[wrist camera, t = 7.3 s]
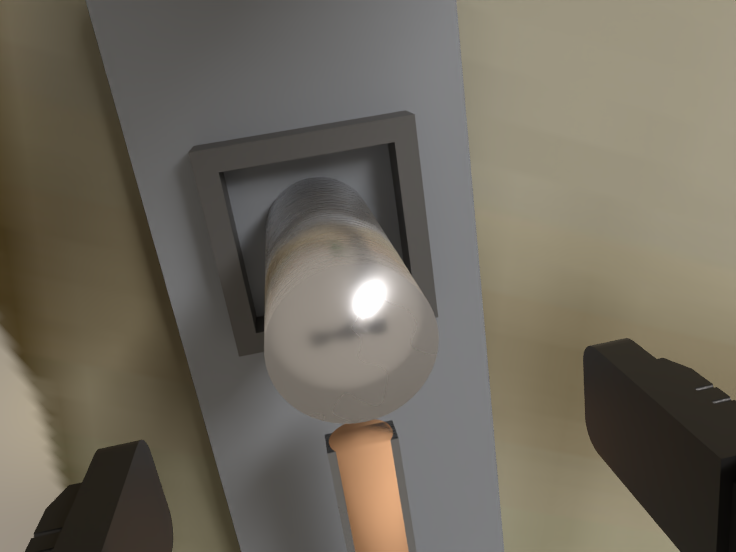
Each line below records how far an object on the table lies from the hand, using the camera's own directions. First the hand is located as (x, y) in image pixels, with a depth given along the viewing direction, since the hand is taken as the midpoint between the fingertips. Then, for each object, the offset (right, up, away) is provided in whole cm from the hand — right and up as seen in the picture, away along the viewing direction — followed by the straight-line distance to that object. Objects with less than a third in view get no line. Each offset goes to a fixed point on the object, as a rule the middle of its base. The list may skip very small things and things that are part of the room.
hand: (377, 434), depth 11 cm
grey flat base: (-1, 0, +16) cm, 16 cm away
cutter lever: (+1, -10, +14) cm, 17 cm away
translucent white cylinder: (-2, +5, +12) cm, 13 cm away
